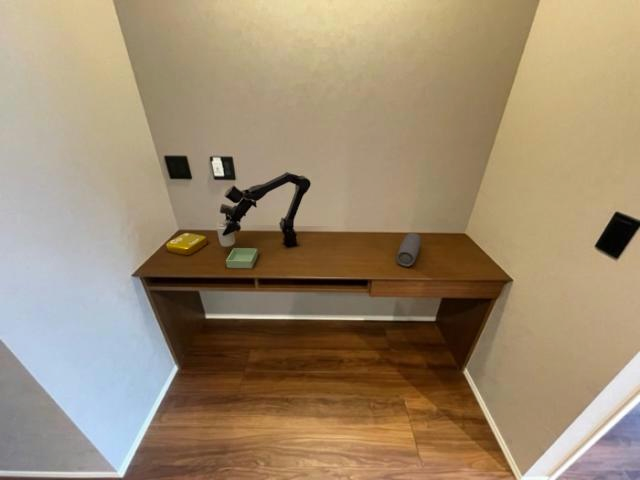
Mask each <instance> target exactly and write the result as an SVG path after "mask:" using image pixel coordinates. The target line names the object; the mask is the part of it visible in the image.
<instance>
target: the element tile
mask: <svg viewBox="0 0 640 480" xmlns="http://www.w3.org/2000/svg"><path fill="white" fill-rule="evenodd" d="M207 244H208V242H207V237H206V236H205V235H201V234H196V233H191V232H184V233H182V234H180V235H178V236H177V237H175V238H173V239H172V240H170V241H168V242H166V244H165V245H166V248H167V251H168V252H170V253H175V254H180V255H183V256H190V255H193V254H195V252H197V251H199V250H200V249H202V248H203V247H204V246H206V245H207Z"/></svg>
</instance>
